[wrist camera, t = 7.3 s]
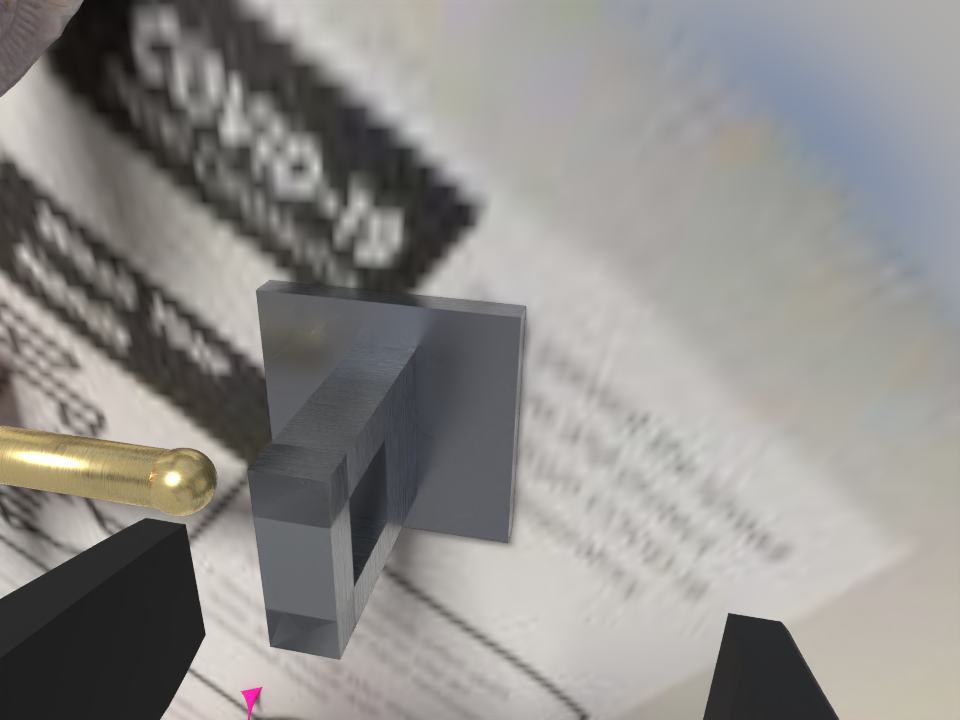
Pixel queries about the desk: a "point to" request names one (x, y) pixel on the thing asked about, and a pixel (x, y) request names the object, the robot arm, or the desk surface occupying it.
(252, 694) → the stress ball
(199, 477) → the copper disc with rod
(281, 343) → the eye post
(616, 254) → the desk surface
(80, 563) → the robot arm
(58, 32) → the fossil
